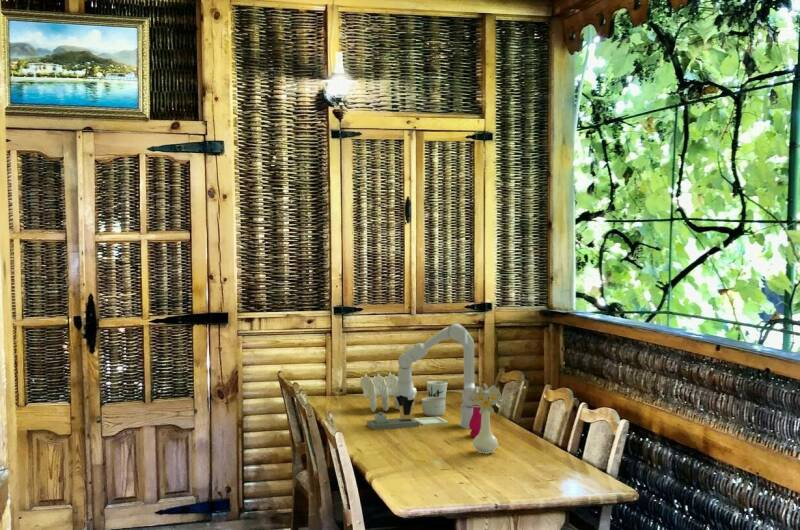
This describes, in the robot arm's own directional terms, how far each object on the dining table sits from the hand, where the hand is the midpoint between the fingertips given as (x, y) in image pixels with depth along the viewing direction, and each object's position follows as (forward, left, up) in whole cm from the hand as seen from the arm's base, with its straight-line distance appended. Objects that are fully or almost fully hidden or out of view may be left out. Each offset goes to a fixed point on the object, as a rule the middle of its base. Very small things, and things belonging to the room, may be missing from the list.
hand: (405, 413), depth 365 cm
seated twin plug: (0, +11, -5) cm, 12 cm away
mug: (+47, -34, -5) cm, 58 cm away
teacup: (+17, -21, -5) cm, 27 cm away
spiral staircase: (+34, -5, -5) cm, 35 cm away
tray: (+2, -13, -5) cm, 14 cm away
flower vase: (-54, -14, -5) cm, 56 cm away
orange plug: (0, 0, -2) cm, 2 cm away
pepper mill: (-28, -22, -5) cm, 36 cm away
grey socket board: (0, +5, -5) cm, 8 cm away
